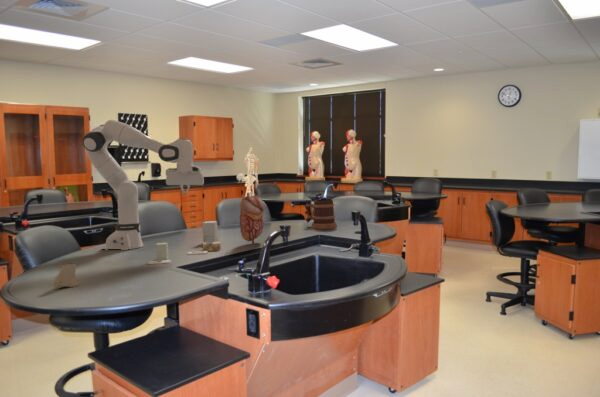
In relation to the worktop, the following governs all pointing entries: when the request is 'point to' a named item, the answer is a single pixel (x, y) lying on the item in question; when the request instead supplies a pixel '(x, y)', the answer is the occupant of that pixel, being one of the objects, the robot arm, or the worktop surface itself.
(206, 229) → the supplement box
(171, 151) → the robot arm
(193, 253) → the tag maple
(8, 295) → the worktop surface
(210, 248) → the maple block
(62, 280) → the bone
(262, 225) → the anatomical model
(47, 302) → the worktop surface
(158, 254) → the sage block
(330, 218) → the mug
